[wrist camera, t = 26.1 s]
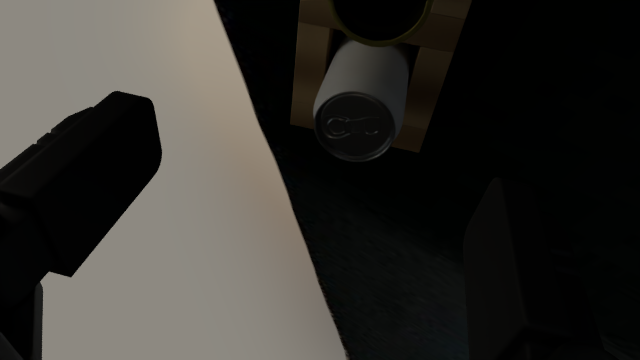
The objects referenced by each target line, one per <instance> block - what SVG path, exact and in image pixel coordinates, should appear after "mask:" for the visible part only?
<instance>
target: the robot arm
mask: <svg viewBox="0 0 640 360" xmlns="http://www.w3.org/2000/svg"><path fill="white" fill-rule="evenodd" d="M161 158H162V149H161V143H160V137H159V132H158V126H157V121H156V115H155V110H154V105H153V103H152V101H151V100H150V99H149V98H146V97H142V96H137V95H133V94H129V93H124V92H120V91H114V92H112V93H111V94H109V95H108V96H107V97H106V98H104V99H103V100H102V101H101V102H99V103H98V104H97V105H96V106H94V107H89V108H87V109H85V110H82V111H80V112H78V113H75V114H73V115H70V116H68V117H67V118H65V119H64V120H63V121H62V122H60V123H59V124H58V125H57V126H55V127H54V128H53V129H51V133H46V134H45V135H44V136H43V137H41V138H40V139H39V140H37V144H32V145H31V146H30V147H28V148H27V149H26V150H24V151H23V152H22V153H21V154H19V155H18V156H17V157H16V158H14V159H13V160H12V161H11V162H9V163H8V164H7V165H5V166H4V167H3V168H1V169H0V360H42V315H43V287H42V285H41V283H40V281H41V280H42V279H43V277H44V276H45V275H46V274H47V273H48V272H53V273H57V274H60V275H64V276H68V277H72V276H73V274H74V273H75V272H76V271H77V270H78V268H79V267H80V266H81V265H82V263H83V262H84V261H85V260H86V258H87V257H88V256H89V254H91V252H92V251H93V250H94V249H95V247H96V246H97V245H98V244H99V243H100V241H101V240H102V239H103V238H104V236H105V235H106V234H107V233H108V232H109V230H110V229H111V228H112V227H113V225H114V224H115V223H116V222H117V221H118V219H119V218H120V217H121V216H122V214H123V213H124V212H125V211H126V210H127V208H128V207H129V206H130V204H131V203H132V202H133V201H134V200H135V198H136V197H137V196H138V195H139V194H140V192H141V191H142V190H143V189H144V187H145V186H146V185H147V184H148V183H149V181H150V180H151V179H152V178H153V176H154V175H155V174H156V172H157V171H158V168H159V166H160V163H161ZM463 255H464V273H465V290H466V307H467V324H468V342H469V359H470V360H618V359H617V358H616V357H615V356H613V355H612V354H610V353H609V352H607V351H605V350H604V347H603V344H602V341H601V338H600V335H599V332H598V328H597V325H596V322H595V319H594V316H593V313H592V310H591V306H590V303H589V300H588V297H587V294H586V291H585V287H584V284H583V281H582V278H581V277H579V273H580V272H579V269H578V265H577V262H576V259H573V257H574V253H573V250H572V246H571V243H570V240H569V237H568V234H567V233H566V231H565V230H564V229H563V227H562V226H561V225H560V224H559V222H558V221H557V220H556V218H555V217H554V216H553V215H552V214H551V213H547V212H542V211H540V207H539V203H538V199H537V196H536V192H535V189H534V187H533V186H532V185H529V184H525V183H520V182H516V181H511V180H507V179H502V178H498V177H496V178H494V179H493V180H492V181H491V183H490V184H489V186H488V188H487V190H486V192H485V194H484V196H483V198H482V199H481V201H480V203H479V205H478V207H477V209H476V211H475V213H474V214H473V216H472V218H471V220H470V222H469V224H468V226H467V229H466V233H465V237H464V243H463Z"/></svg>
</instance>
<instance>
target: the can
mask: <svg viewBox="0 0 640 360" xmlns="http://www.w3.org/2000/svg"><path fill="white" fill-rule="evenodd" d="M409 68H410V50H409V46H408V44H407V43H403V42H401V43H399V44H395V45H392V46H387V47H370V46H367V45H364V44H361V43H358V42H356V41H354V40H352V39H351V38H349V37H348V36H347V35H345V37H344V38H343V39H342V41H341V43H340V45H339V47H338V49H337V51H336V54H335V56H334V58H333V60H332V62H331V65H330V67H329V69H328V71H327V73H326V76H325V78H324V80H323V82H322V85H321V87H320V89H319V92H318V94H317V97H316V99H315V103H314V108H313V116H314V131H315V134H316V137H317V139H318V141H319V142H320V144H321V145H322V146H323V147H324V148H325V149H326V150H327V151H328V152H329V153H331V154H332V155H334V156H336V157H338V158H340V159H343V160H346V161H351V162H365V161H370V160H373V159H375V158H378V157H379V156H381V155H382V154H384V153H385V152H386V151H387V150H388V149H389V148H390V146H391V145H392V143H393V141H394V140H395V139H396V137H397V136H398V134H399V132H400V130H401V127H402V124H403V118H404V111H405V103H406V95H407V87H408V78H409Z"/></svg>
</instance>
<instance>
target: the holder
mask: <svg viewBox="0 0 640 360" xmlns="http://www.w3.org/2000/svg"><path fill="white" fill-rule="evenodd" d="M471 2H472V0H434V2H433V5H432V8H431V11H430V14H429V16H428V18H427V20H426V22H425V23H424V25H423V26H422V27H421V28H420V29H419V30H418V31H417V32H416V33H415V34H414V35H412V36H411V37H410V38H408V39H407V40H405V41H403V43H408V44H413V45H417V46H416V49H415V53H414V56H413V60H412V63H411V67H410V70H409V78H408V87H407V95H406V103H405V111H404V118H403V124H402V127H401V130H400V132H399V134H398V136H397V137H396V139H395V140H394V141H393V143H392V145H391V146H392V147H396V148H401V149H405V150H410V151H414V152H419V151H420V148H421V145H422V142H423V139H424V137H425V134H426V131H427V128H428V125H429V122H430V119H431V116H432V113H433V111H434V108H435V105H436V102H437V99H438V96H439V93H440V91H441V88H442V85H443V82H444V79H445V76H446V73H447V70H448V68H449V65H450V62H451V59H452V56H453V52H454V50H455V48H456V45H457V42H458V39H459V36H460V33H461V30H462V28H463V25H464V22H465V19H466V16H467V13H468V10H469V8H470V5H471ZM337 30H341V29H340V28H339V26H338V25H337V24H336V22H335V21H334V19H333V17H332V15H331V12H330V9H329V5H328V0H300V10H299V23H298V35H297V47H296V60H295V73H294V85H293V98H292V110H291V123H290V124H293V125H297V126H302V127H306V128H311V129H314V116H313V108H314V103H315V99H316V97H317V94H318V92H319V89H320V87H321V85H322V82H323V80H324V78H325V76H326V73H327V71H328V69H329V67H330V65H331V62H332V60H333V55H334V48H335V41H336V34H337Z"/></svg>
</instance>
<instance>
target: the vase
mask: <svg viewBox="0 0 640 360" xmlns="http://www.w3.org/2000/svg"><path fill="white" fill-rule="evenodd" d="M433 2H434V0H328V5H329V9H330V12H331V15H332V17H333V19H334V21H335V22H336V24H337V25H338V26H339V28H340V29H341V30H342V31H343V32H344V33H345V34H346V35H347V36H348V37H349V38H351V39H352V40H354V41H356V42H358V43H361V44H364V45H367V46H370V47H387V46H392V45H395V44H399V43H401V42H403V41H405V40H407V39H408V38H410V37H411V36H412V35H414V34H415V33H416V32H417V31H418V30H419V29H420V28H421V27H422V26H423V25H424V23H425V22H426V20H427V18H428V16H429V14H430V11H431V8H432V5H433Z"/></svg>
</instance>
